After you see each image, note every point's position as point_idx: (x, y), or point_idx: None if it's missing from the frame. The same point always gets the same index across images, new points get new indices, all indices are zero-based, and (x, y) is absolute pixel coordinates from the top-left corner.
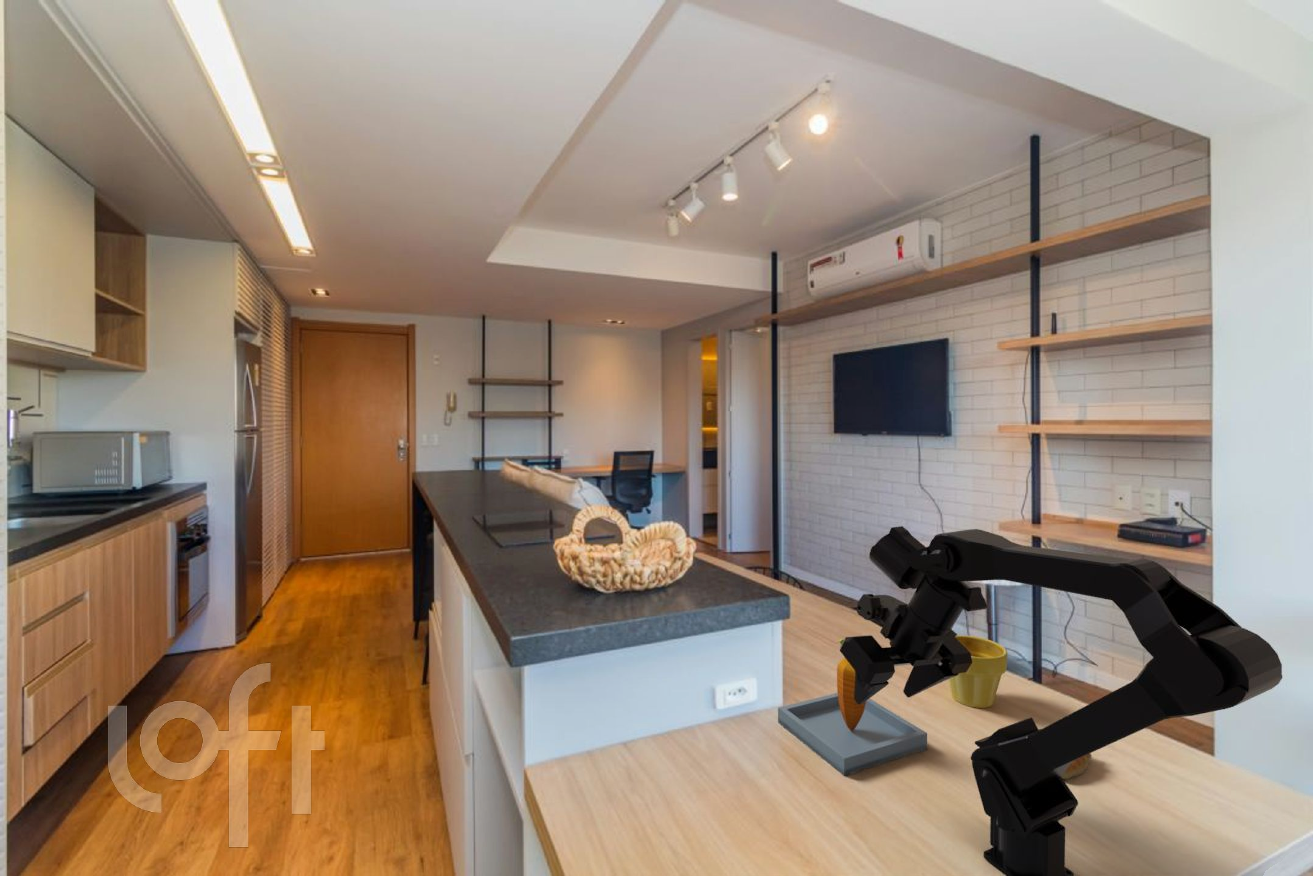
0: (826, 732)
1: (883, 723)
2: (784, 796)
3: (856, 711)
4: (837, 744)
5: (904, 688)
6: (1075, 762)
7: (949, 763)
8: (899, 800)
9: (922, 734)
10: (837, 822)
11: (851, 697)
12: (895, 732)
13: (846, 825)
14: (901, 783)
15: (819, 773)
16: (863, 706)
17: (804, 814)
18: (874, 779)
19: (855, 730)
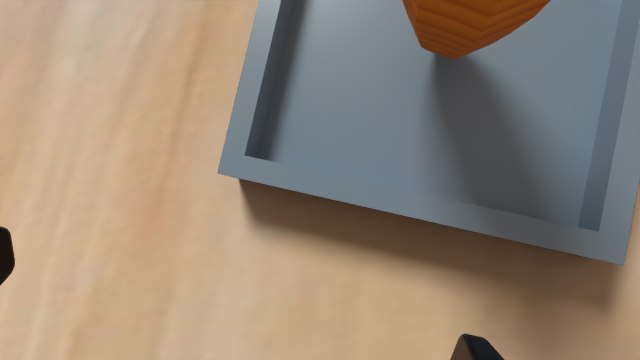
0: (362, 7)
1: (591, 79)
2: (59, 141)
3: (431, 44)
4: (331, 75)
5: (467, 356)
6: None
7: (570, 352)
8: (262, 341)
9: (595, 258)
10: (75, 284)
11: (409, 3)
12: (569, 144)
13: (81, 304)
14: (337, 303)
15: (196, 129)
16: (463, 51)
17: (43, 216)
18: (291, 242)
19: None
